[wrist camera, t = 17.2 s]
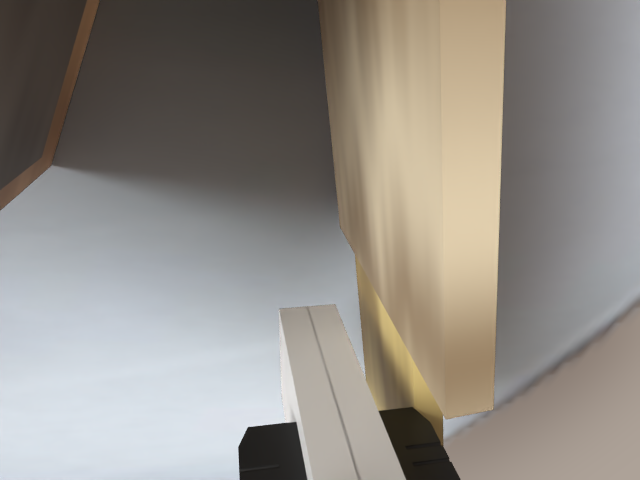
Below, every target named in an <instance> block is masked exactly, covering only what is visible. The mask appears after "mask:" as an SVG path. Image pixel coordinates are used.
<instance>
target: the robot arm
mask: <svg viewBox="0 0 640 480" xmlns="http://www.w3.org/2000/svg"><path fill="white" fill-rule="evenodd" d="M279 330H280V363H281V397H282V403H283V409H284V415H285V421H286V423H281V424H272V425H263V426H255V427H248V428H247V430H246V432H245V434H244V437H243V439H242V441H241V443H240V445H239V447H238V449H239V472H240V480H460V478H459V476H458V474H457V472H456V470H455V468H454V466H453V464H452V462H450V461H449V457H448V455H447V453H446V451H445V449H444V447H443V446H441V441H440V439H439V438H438V436H437V434H436V432H435V430H434V428H433V426H432V424H431V422H430V421H428V420H427V419H426V418H425V417H424V416H423V415H421V414H420V413H419V412H418V411H417V410H416V409H414V408H413V407H407V408H398V409H389V410H381V411H378V409H377V406H376V404H375V401H374V399H373V397H372V394H371V392H370V389H369V387H368V384H367V382H366V379H365V377H364V374H363V372H362V369H361V367H360V364H359V362H358V359H357V357H356V354H355V352H354V349H353V347H352V344H351V342H350V340H349V337H348V335H347V332H346V330H345V327H344V325H343V322H342V320H341V317H340V315H339V312H338V310H337V307H336V305H335V304H332V305H320V306H307V307H295V308H282V309H279Z"/></svg>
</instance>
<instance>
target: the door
mask: <svg viewBox="0 0 640 480" xmlns="http://www.w3.org/2000/svg"><path fill="white" fill-rule="evenodd" d="M318 9H319V19H320V29H321V39H322V49H323V60H324V70H325V80H326V90H327V100H328V110H329V121H330V131H331V141H332V151H333V161H334V171H335V182H336V192H337V202H338V212H339V222H340V228H341V230H342V231H343V233H344V235H345V237H346V239H347V241H348V242H349V244H350V246H351V248H352V250H353V251H354V253H355V261H356V272H357V283H358V295H359V306H360V317H361V329H362V340H363V352H364V363H365V374H366V382H367V384H368V387H369V389H370V392H371V394H372V397H373V399H374V401H375V404H376V406H377V409H378V411H381V410H389V409H398V408H407V407H413V408H414V409H416V410H417V411H418V412H419V413H420V414H421V415H423V416H424V417H425V418H426V419H427V420H428V421H430V422H431V424H432V426H433V428H434V430H435V432H436V434H437V436H438V438H439V439H440V441H441V446H443V415H444V417H445V419H451V418H455V417H460V416H465V415H470V414H475V413H480V412H484V411H489V410H493V409H494V377H495V344H496V312H497V279H498V247H499V214H500V182H501V149H502V117H503V84H504V52H505V19H506V0H318Z"/></svg>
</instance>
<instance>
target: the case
mask: <svg viewBox="0 0 640 480" xmlns="http://www.w3.org/2000/svg"><path fill="white" fill-rule="evenodd" d="M99 2H100V0H0V210H2V209H3V208H4V207H5V206H6V205H7V204H8V203H9V202H11V201H12V200H13V199H14V198H15V197H16V196H17V195H18V194H20V193H21V192H22V191H23V190H24V189H25V188H26V187H28V186H29V185H30V184H31V183H32V182H33V181H34V180H35V179H37V178H38V177H39V176H40V175H41V174H42V173H43V172H45V171H46V170H47V169H48V168H49V167H50V166H51V164H52V161H53V157H54V154H55V151H56V147H57V144H58V140H59V137H60V134H61V130H62V127H63V123H64V120H65V117H66V113H67V110H68V107H69V103H70V100H71V96H72V93H73V90H74V86H75V83H76V79H77V76H78V73H79V69H80V66H81V63H82V59H83V56H84V52H85V49H86V46H87V42H88V39H89V35H90V32H91V29H92V25H93V22H94V19H95V15H96V12H97V8H98V5H99Z"/></svg>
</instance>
